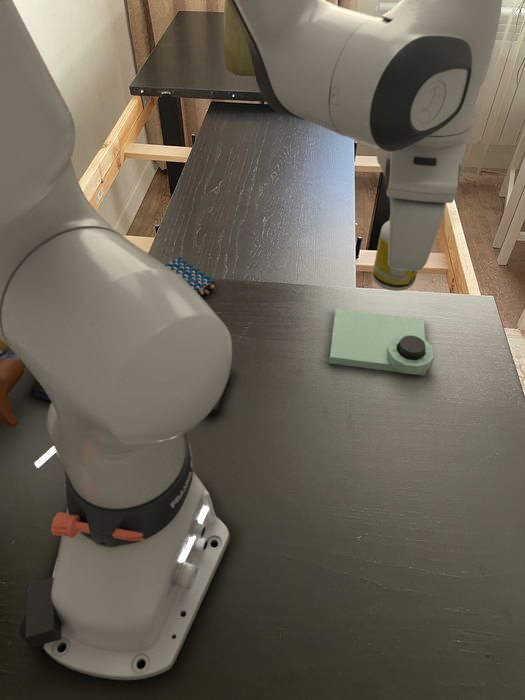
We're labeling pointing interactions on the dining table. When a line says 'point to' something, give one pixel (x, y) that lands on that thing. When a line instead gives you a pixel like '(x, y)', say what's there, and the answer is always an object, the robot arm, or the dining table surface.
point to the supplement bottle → (383, 270)
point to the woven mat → (191, 275)
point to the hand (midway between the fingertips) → (397, 255)
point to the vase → (235, 46)
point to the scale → (377, 342)
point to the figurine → (8, 383)
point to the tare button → (411, 347)
